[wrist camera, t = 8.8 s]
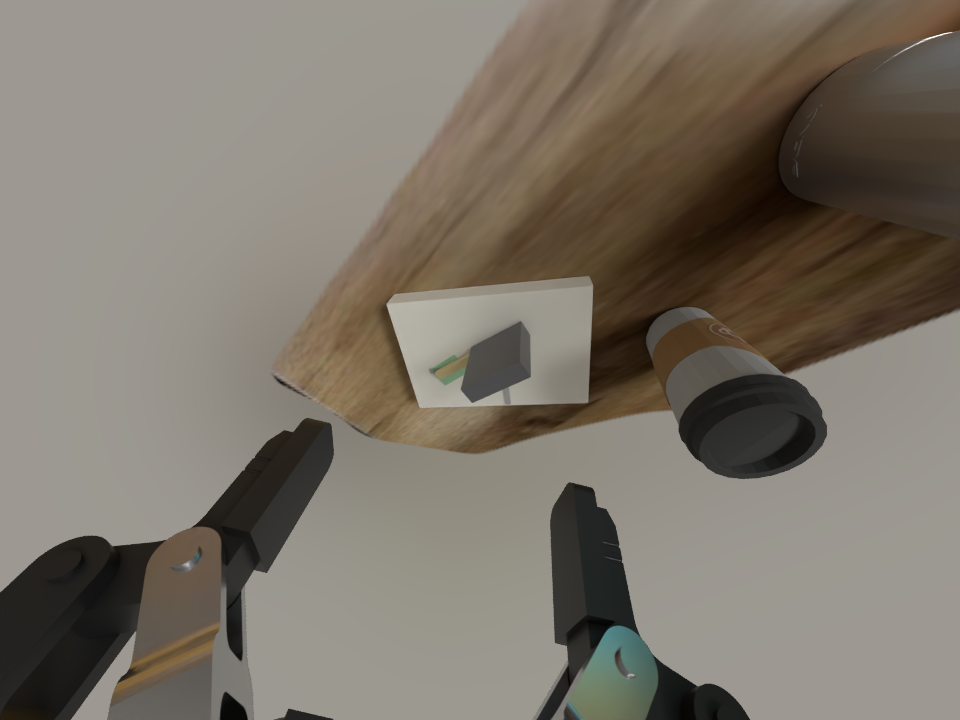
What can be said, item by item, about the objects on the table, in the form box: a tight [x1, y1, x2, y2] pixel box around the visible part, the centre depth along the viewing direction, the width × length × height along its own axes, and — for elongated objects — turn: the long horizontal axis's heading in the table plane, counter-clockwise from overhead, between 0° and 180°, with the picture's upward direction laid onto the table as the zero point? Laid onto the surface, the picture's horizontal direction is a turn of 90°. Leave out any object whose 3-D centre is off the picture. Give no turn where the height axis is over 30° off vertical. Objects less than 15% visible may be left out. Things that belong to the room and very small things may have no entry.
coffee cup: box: [646, 307, 827, 479], centre depth 29 cm, size 8×8×15 cm
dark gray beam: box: [435, 321, 531, 403], centre depth 33 cm, size 2×11×7 cm, turn 124°
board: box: [386, 276, 593, 408], centre depth 37 cm, size 20×14×3 cm
